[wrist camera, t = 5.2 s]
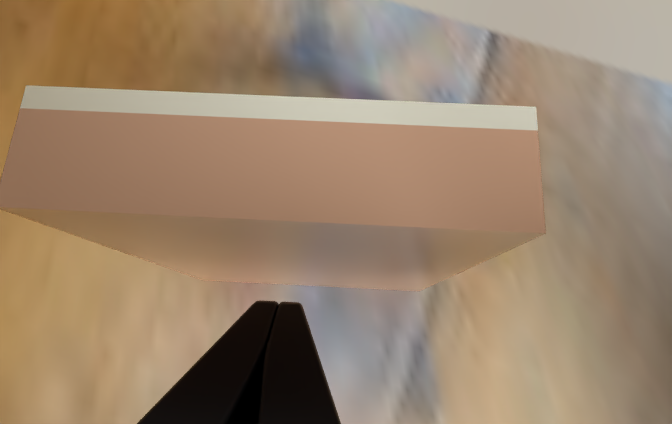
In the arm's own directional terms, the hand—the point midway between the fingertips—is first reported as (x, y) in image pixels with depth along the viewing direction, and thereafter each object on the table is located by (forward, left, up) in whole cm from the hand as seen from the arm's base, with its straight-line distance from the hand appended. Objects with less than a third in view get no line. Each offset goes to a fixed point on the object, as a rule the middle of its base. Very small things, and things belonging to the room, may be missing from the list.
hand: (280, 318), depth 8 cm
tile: (+2, -2, -3) cm, 4 cm away
